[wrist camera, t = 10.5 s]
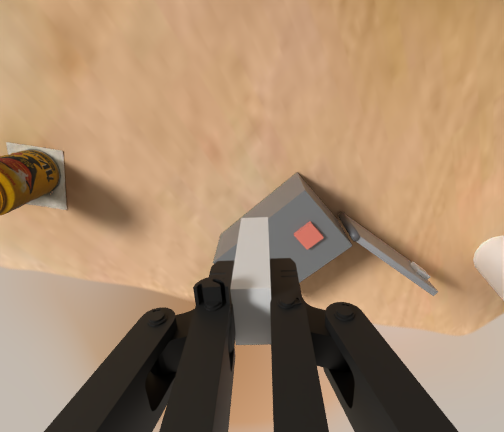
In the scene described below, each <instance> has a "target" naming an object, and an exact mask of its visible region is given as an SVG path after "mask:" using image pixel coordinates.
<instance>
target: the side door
mask: <svg viewBox="0 0 504 432" xmlns="http://www.w3.org/2000/svg"><path fill="white" fill-rule="evenodd" d="M338 217H339V218H340V220H341V222H342V223H343V225H344V227H345V228H346V230H347V232H348V233H349V235H350V237H351V238H352V240H353V241H356V242H357V243H359V244H360V245H362V246H363V247H364V248H366V249H367V250H369V251H370V252H371V253H373V254H374V255H376V256H377V257H379V258H380V259H381V260H383V261H384V262H386V263H387V264H389V265H390V266H391V267H393V268H394V269H396V270H397V271H398V272H400V273H401V274H403V275H404V276H406V277H407V278H408V279H410V280H411V281H413V282H414V283H416V284H417V285H418V286H420V287H421V288H423V289H424V290H425V291H427V292H428V293H430V294H431V295H433V296H434V295H435V294H436V293H437V292H438V291H437V290H436V289H435V288H434V286H433V285H432V284H431V283H430V282H429V281H428V279H429V278H430V276H429V275H428V273H427V272H426V271H425V270H424V269H423V268H422V267H420V266H419V265H417V264H416V263H415V262H411V261H410V260H408V259H407V258H405V257H404V256H403V255H401V254H400V253H398V252H397V251H396V250H394V249H393V248H392V247H390V246H389V245H387V244H386V243H385V242H383V241H382V240H380V239H379V238H378V237H376V236H375V235H373V234H372V233H371V232H369V231H368V230H367V229H365V228H364V227H362V226H361V225H360V224H358V223H357V222H355V221H354V220H353V219H351V218H350V217H348V216H347V215H346V214H345V213H344V212H341V213H339V215H338Z"/></svg>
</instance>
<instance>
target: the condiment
mask: <svg viewBox="0 0 504 432" xmlns="http://www.w3.org/2000/svg"><path fill="white" fill-rule="evenodd" d="M6 144H7V150H8V155H4V156H0V215H4V214H6V213H8V212H10V211H12V210H14V209H16V208H19V207H21V206H22V205H24V204H30V205H37V206H46V207H50V208H58V209H63V210H67V206H66V191H65V173H64V157H63V151H61V150H54V149H49V148H42V147H36V146H29V145H23V144H15V143H9V142H6ZM52 191H53V193H52ZM50 193H52V194H51V195H50Z"/></svg>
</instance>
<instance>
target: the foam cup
mask: <svg viewBox="0 0 504 432" xmlns="http://www.w3.org/2000/svg"><path fill="white" fill-rule="evenodd" d="M473 261H474V265H475V268H477V270H478V271H479V273H480V274H481V275H482V276H483V277H484V278H485V280H486V281H487V282H488V283H489V284H490V285H491V287H492V288H493V289H494V290H495V291H496V293H497V294H498V295H499V296H500V297H501V298H502V300H503V301H504V236H497V237H492V238H490V239H488V240H487V241H485V242H483V243H482V244H481V245H480V246H479V247H478V249H477V250H476V251H475V254H474V258H473Z"/></svg>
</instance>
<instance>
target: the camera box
mask: <svg viewBox="0 0 504 432" xmlns="http://www.w3.org/2000/svg"><path fill="white" fill-rule="evenodd" d="M255 217H268V231H269V256H270V259H271V258H291V259H292V260H293V261H294V262H295V263H296V267H297V273H298V279H299V283H300V282H301V281H303V280H304V279H305V278H307V277H308V276H310V275H311V274H313V273H314V272H316V271H317V270H318V269H320V268H321V267H323V266H324V265H326V264H327V263H328V262H330V261H331V260H333V259H334V258H336V257H337V256H338V255H340V254H341V253H343V252H344V251H346V250H347V249H349V248H350V247H351V246H352V244H351V242H350V241H349V239H348V237H347V236H346V234H345V232H344V230H343V229H342V227H341V225H340V223H339V222H338V220H337V219H336V217H335V216H334V215H333V214H332V213H331V212H330V210H329V209H328V208H327V207H326V206H325V204H324V203H323V202H322V201H321V200H320V198H319V197H318V196H317V195H316V194H315V193H314V191H313V190H312V189H311V188H310V187H309V185H308V184H307V183H306V182H305V181H304V179H303V178H302V177H301V176H300V175H299V174H298V172H297V173H295V174H294V175H293V176H292V177H290V178H289V179H288V180H287V181H286V182H284V183H283V184H282V185H281V186H279V187H278V188H277V189H276V190H274V191H273V192H272V193H271V194H270V195H268V196H267V197H266V198H265V199H263V200H262V201H261V202H260V203H259V204H257V205H256V206H255V207H254V208H252V209H251V210H250V211H249V212H247V213H246V214H245V215H244V216H243V217H241V218H255ZM241 218H240V219H239V220H238V221H236V222H235V223H234V224H233V225H232V226H230V227H229V228H228V229H227V230H225V231H224V232H223V233H222V234H221V235H220V239H219V242H218V246H217V250H216V253H215V257H214V261H213V263H214V264H215V263H216V262H217V261H232V260H235V255H236V249H237V242H238V236H239V229H240V223H241Z"/></svg>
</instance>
